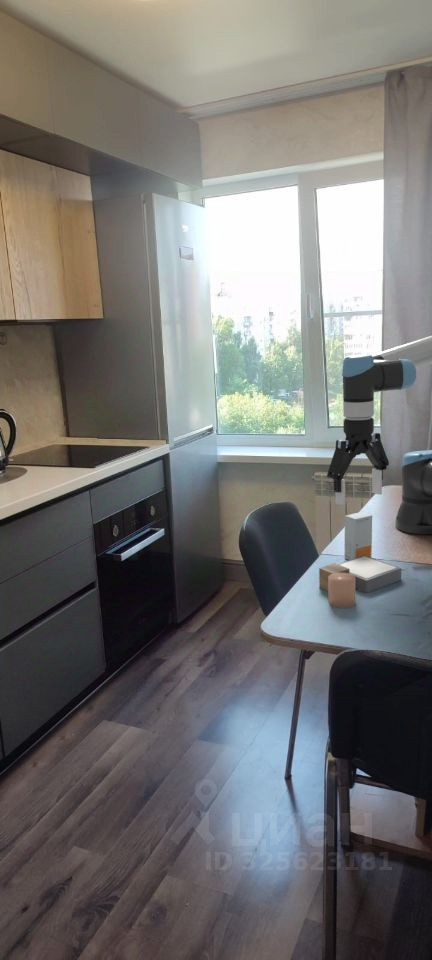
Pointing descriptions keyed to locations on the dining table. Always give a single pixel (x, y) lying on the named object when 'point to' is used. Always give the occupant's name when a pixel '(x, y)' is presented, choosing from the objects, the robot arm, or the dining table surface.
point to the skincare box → (358, 535)
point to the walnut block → (327, 571)
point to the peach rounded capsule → (341, 590)
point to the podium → (372, 573)
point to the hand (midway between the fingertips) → (359, 498)
